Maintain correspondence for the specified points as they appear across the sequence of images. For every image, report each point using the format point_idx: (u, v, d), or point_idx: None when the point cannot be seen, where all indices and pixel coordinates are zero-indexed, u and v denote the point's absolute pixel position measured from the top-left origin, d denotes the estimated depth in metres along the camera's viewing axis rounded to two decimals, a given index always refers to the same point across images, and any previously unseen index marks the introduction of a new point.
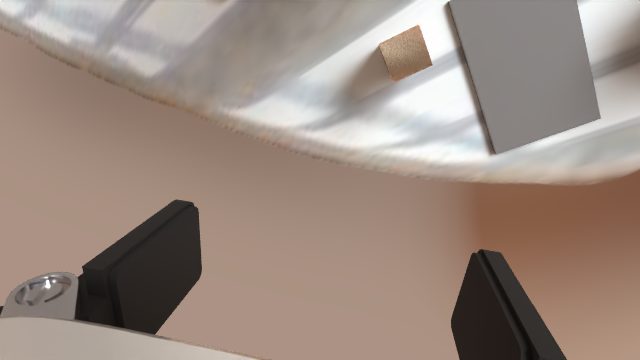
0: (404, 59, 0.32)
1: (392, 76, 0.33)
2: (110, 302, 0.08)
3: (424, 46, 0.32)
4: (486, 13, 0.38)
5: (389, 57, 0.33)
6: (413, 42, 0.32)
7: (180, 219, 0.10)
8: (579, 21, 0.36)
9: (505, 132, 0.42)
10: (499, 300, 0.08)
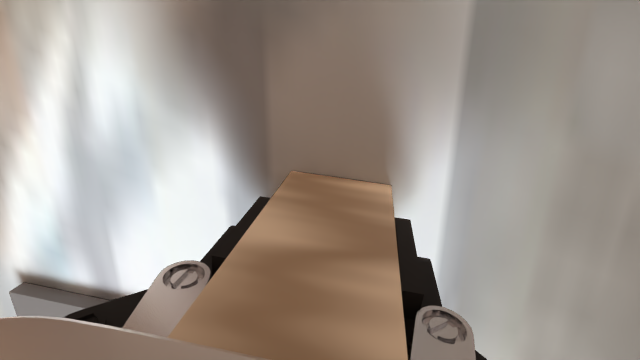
0: None
1: None
2: None
3: None
4: None
5: None
6: None
7: None
8: None
9: None
10: None
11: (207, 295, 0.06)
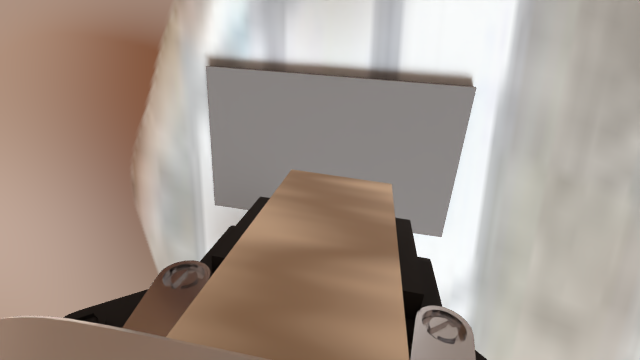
0: None
1: None
2: None
3: None
4: (422, 130, 0.24)
5: None
6: None
7: None
8: None
9: (236, 91, 0.26)
10: None
11: (207, 293, 0.06)
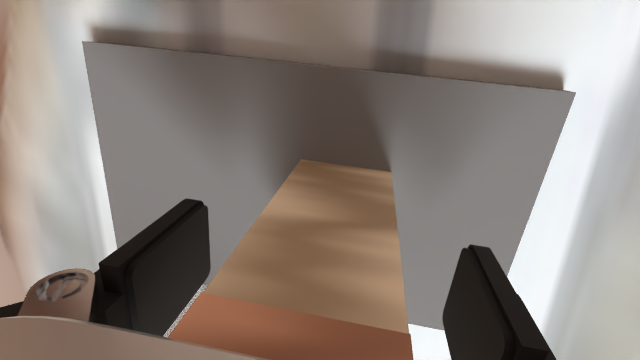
0: None
1: None
2: (125, 298, 0.08)
3: None
4: (465, 166, 0.13)
5: None
6: None
7: (191, 217, 0.10)
8: None
9: (137, 87, 0.15)
10: (486, 293, 0.08)
11: (239, 252, 0.08)
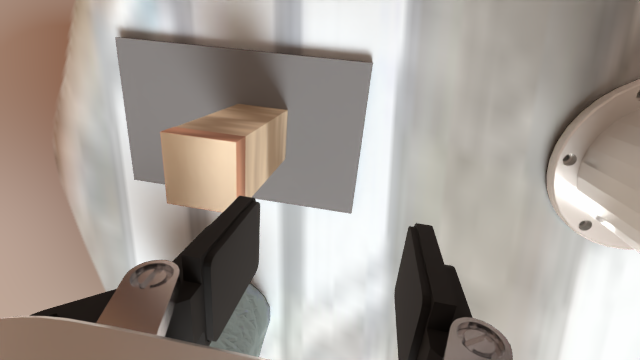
0: (193, 168, 0.17)
1: (171, 135, 0.16)
2: (203, 288, 0.08)
3: (200, 206, 0.18)
4: (325, 105, 0.25)
5: (205, 147, 0.16)
6: (213, 194, 0.17)
7: (249, 213, 0.11)
8: (258, 197, 0.28)
9: (146, 63, 0.26)
10: (417, 262, 0.09)
11: (191, 122, 0.19)
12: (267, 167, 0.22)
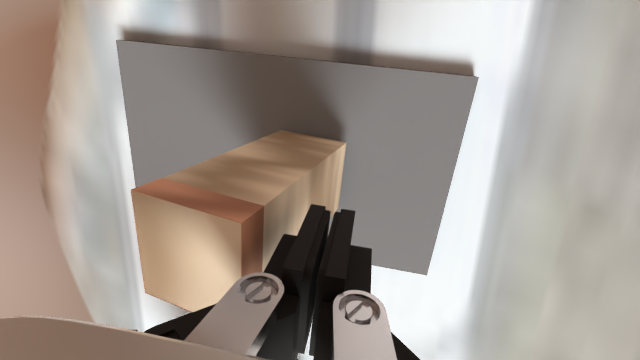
0: (177, 252, 0.10)
1: (145, 198, 0.10)
2: (300, 301, 0.08)
3: (189, 307, 0.11)
4: (403, 134, 0.18)
5: (195, 223, 0.10)
6: (207, 295, 0.10)
7: (326, 223, 0.11)
8: None
9: (157, 75, 0.19)
10: (327, 242, 0.09)
11: (195, 167, 0.12)
12: None
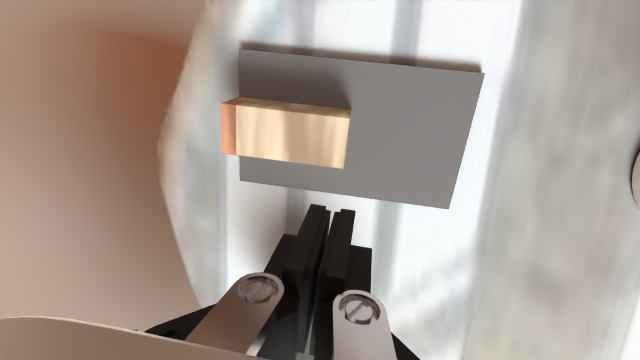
0: None
1: None
2: (300, 301, 0.08)
3: None
4: (436, 111, 0.27)
5: None
6: None
7: (326, 223, 0.11)
8: (360, 195, 0.31)
9: (266, 73, 0.28)
10: (327, 242, 0.09)
11: (268, 100, 0.28)
12: (284, 150, 0.26)
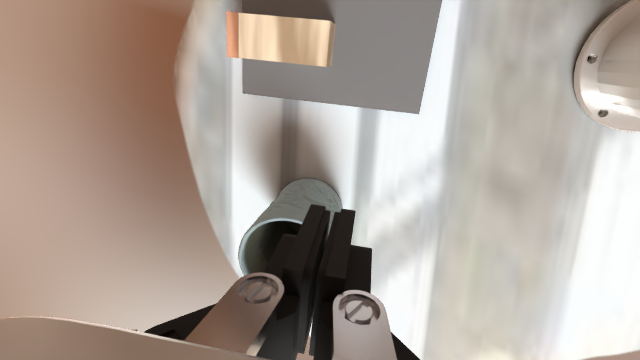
0: None
1: None
2: (300, 301, 0.08)
3: None
4: (405, 22, 0.32)
5: None
6: None
7: (326, 223, 0.11)
8: (344, 104, 0.36)
9: None
10: (327, 242, 0.09)
11: None
12: (277, 51, 0.31)
